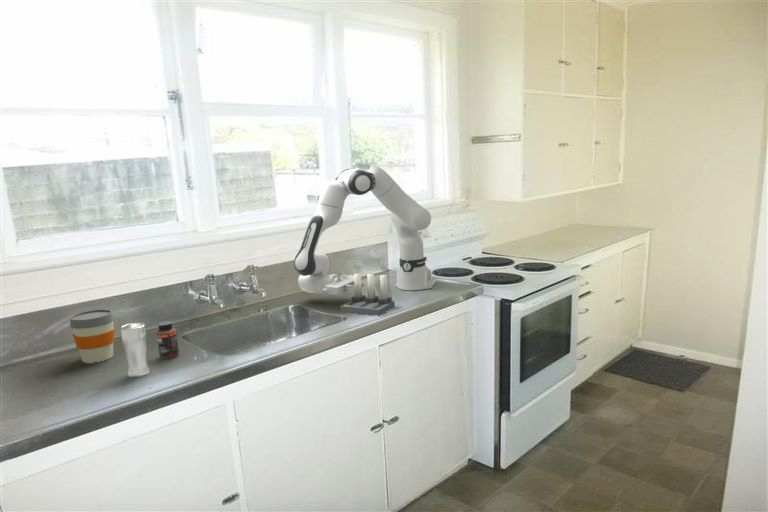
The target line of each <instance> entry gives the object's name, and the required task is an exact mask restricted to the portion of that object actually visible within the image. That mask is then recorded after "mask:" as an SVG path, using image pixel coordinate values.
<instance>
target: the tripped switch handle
mask: <svg viewBox="0 0 768 512" xmlns="http://www.w3.org/2000/svg"><path fill="white" fill-rule="evenodd" d="M353 276H354V285H358V289H357V290H354V296H352V297H351V300H352V301H358V302H361V301H362V300H364V299H365V298H366V297H367V295H365V294H363V287H362V283H363V282H362V273H354V274H353Z"/></svg>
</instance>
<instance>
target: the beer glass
mask: <svg viewBox="0 0 768 512" xmlns="http://www.w3.org/2000/svg"><path fill="white" fill-rule="evenodd" d="M120 337H121V338H120V339H121V346H122V349H123V353H124V356H125V358H126V360H127V365H128V366H127V367H128V368H127V369H128V370H127V376H128V377H129V378H139V377H144V376H146V375H148V374H149V373H150V372H151V369H150V366H149V362H148V348H149V347H148V346H149V345H148V343H149V341H148V333H147V328H146V324H145V323H144V322H131V323H127V324H124V325H122V326H121V327H120Z"/></svg>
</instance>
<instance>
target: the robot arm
mask: <svg viewBox="0 0 768 512" xmlns="http://www.w3.org/2000/svg"><path fill="white" fill-rule="evenodd" d="M369 192H371V193H372V194H373V195H374V196H375V197H376V199H377V200H378V201H379V202H380V203H381V204H382V205H383V206H384V207H385V208H386V209H387V211H390V212H391V213H390V214H391V215H390V220H391V221H392V223H393V225H394V227H395V229H396V235H397V237H398V243H399V258H398V259H399V261H398V262H399V268H398V269H397V270H396V271H397V272H396V274H397V275H396V277H397V279H396V282H395V283H394V286H395V287H397V289H399V290H403V291H421V290H429V289H430V288H431V289H432V288H433V287H434V286H435V284H436V283H437V280H436V279H433V278H432V271H431V269H430V268H429V267H428V266H427V265H426V263H427V261H428V257H427V256H424V240H423V239H422V237H421V236H420V234H419V231H422V230H426V229H427V228H428V227H430V225H431V221H432V215H431V212H430V211H429V210H428V209H426V208H424V207H423V206H422V205H420V204H419V203H418V202H417V201H416V200H415V199H413V198H412V197H411V196H409V195H408V194H407V193H406V192H405V191H404V190H403V189H402V188H401V187H400V186H399V184H398V183H397V182H396V181H395V180H394V179H393V178H392V176H391V175H390V174H389V173H387V172H386V171H385V170H384V169H383V168H381V167H380V166H373V167H370V168H368V169H367V171H366V170H362V169H357V168H347V169H344V170H342V171H341V172H340V173H339V175H338V176H337V177H336V178H335V179H330V180H327V181H326V182H325V183H324V185H323V186H322V190H321V192H320V195H319V199H318V202H317V206H316V209H315V212H314V214H313V216H312V217H311V219H310V221H309V222H308V225H307V227H306V231H305V234H304V237H303V239H302V242H301V243H302V244H301V245H300V247H299V250H298V252H297V253H296V255H295V257H294V258H293V259H294V260H293V266H294V269H295V271H296V273H297V274H298V275H299V276H298V279H297V283H298V286H299V288H300V290H302V291H303V292H306V293H311V294H323V295H329V296H330V295H331V296H332V295H333V296H340V295H342V294H344V293H347V292H349V291H355V290H357V289H358V285H354V274H353V275H352V274H346V273H343V272H342V273H330V267H331V259H330V257H329V255H327V254H326V253H325V252H318V251H317V252H316V250H317V246H318V244H319V241H320V238H321V235H322V234H323V232H325V231H326V230H327V229H329V228H331V227H333V226H335V225H336V224H338V223H339V222H340V220H341V218H342V214H343V210H344V207H345V201H346V199H347V197H348V196H349V195H357V196H363V195H366V194H368V193H369ZM433 285H434V286H433ZM363 287H364V283H363V282H362V288H363Z"/></svg>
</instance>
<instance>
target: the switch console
mask: <svg viewBox="0 0 768 512" xmlns="http://www.w3.org/2000/svg"><path fill="white" fill-rule="evenodd" d="M366 278H367V279H366V280H367V296H366V298H365V299H364V300H362V301H361V302H358V301H352V299H351V300H349V301H347V302H345V303H343V304H341V305H339V311H340V312H339V313H345V314H346V313H348V314H355V313H357V314H358V315H365V314H368V315H367V316H374V315H378V316H377V317H380V316H382V315H384V314H386V313H387V312H389V311H390V310H392V309H393V308H395V306H396V305H395V300H393V297H392V296H389V288H388V287H389V283H388V281H389V280H388V274H387V275H386V274H382V275H381V274H380V276H379V282H380V283H379V284H380V287H379V288H380V297H379V295H376V283H375V281H376V280H375V274H372V273H371V274H370V273H369V274H367V277H366ZM391 308H392V309H391ZM389 309H390V310H389ZM386 311H387V312H386ZM383 313H384V314H383ZM357 314H356V315H357ZM381 314H382V315H381Z"/></svg>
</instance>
